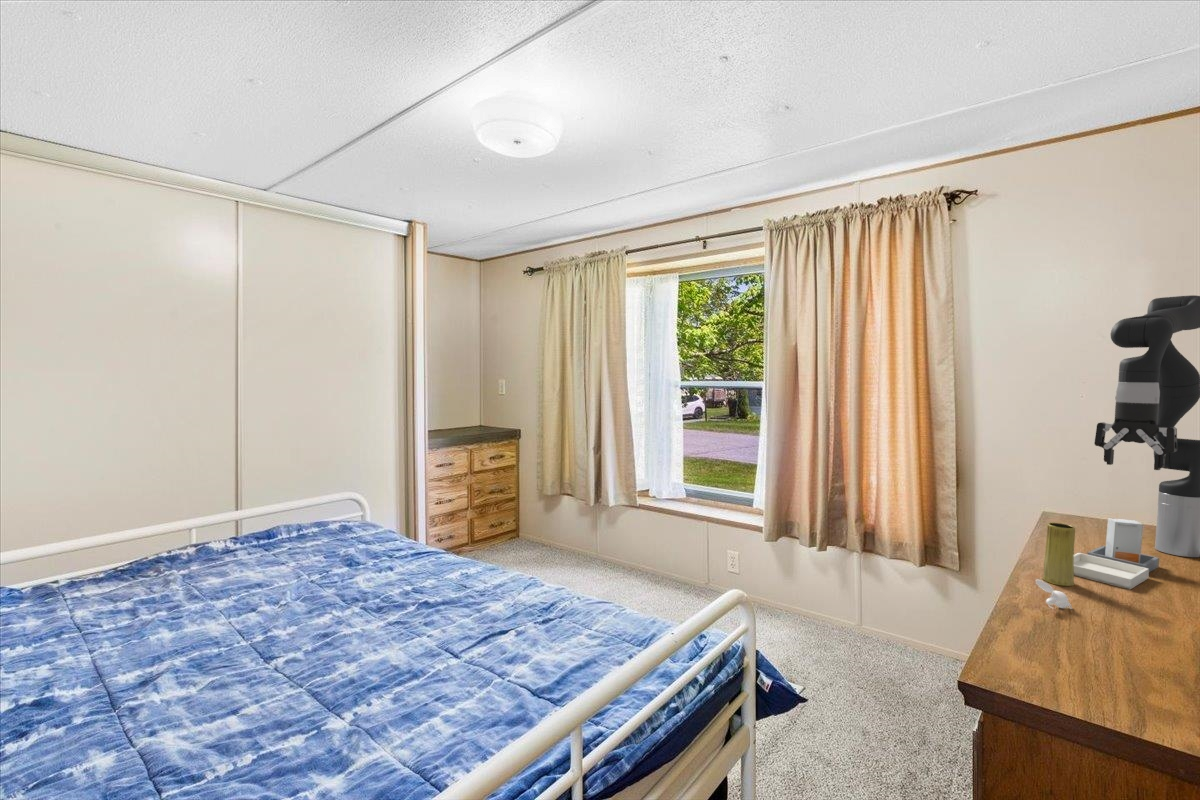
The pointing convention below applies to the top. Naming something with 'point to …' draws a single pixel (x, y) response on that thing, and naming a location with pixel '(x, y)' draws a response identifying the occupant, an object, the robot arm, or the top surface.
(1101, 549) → the frame
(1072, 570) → the vase
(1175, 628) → the top surface
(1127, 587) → the tray
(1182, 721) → the top surface
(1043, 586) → the rabbit figurine
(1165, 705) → the top surface
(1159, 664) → the top surface
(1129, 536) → the skincare box
